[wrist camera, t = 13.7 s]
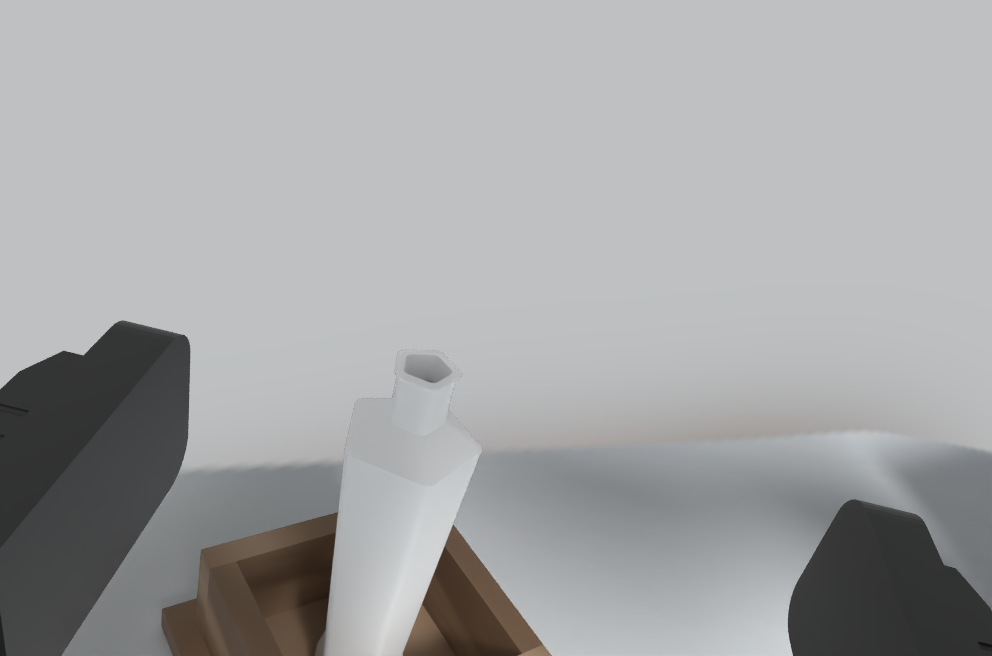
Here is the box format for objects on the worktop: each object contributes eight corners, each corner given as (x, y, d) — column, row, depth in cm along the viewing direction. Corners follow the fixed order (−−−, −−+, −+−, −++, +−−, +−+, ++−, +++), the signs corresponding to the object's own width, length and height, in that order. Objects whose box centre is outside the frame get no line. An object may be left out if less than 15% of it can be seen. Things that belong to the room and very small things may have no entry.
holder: (414, 545, 42) (433, 468, 40) (559, 755, 34) (595, 677, 32) (161, 625, 35) (166, 538, 33) (272, 911, 27) (289, 826, 25)
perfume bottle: (275, 650, 34) (323, 339, 27) (371, 611, 37) (440, 319, 29) (327, 746, 31) (399, 428, 24) (427, 697, 34) (520, 397, 26)
